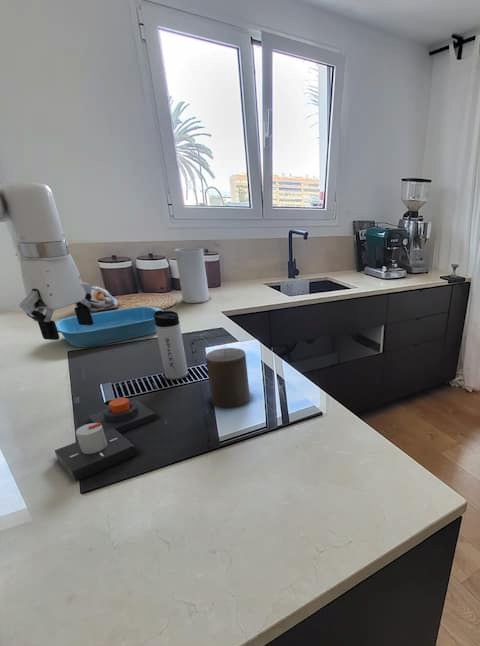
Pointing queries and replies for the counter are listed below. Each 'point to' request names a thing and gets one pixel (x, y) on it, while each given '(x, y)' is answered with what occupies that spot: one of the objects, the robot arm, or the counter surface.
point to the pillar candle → (228, 377)
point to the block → (124, 417)
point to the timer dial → (91, 438)
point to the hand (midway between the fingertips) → (70, 331)
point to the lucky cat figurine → (101, 300)
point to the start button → (119, 405)
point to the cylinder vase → (192, 275)
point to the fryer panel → (95, 456)
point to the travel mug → (171, 344)
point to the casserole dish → (109, 326)
